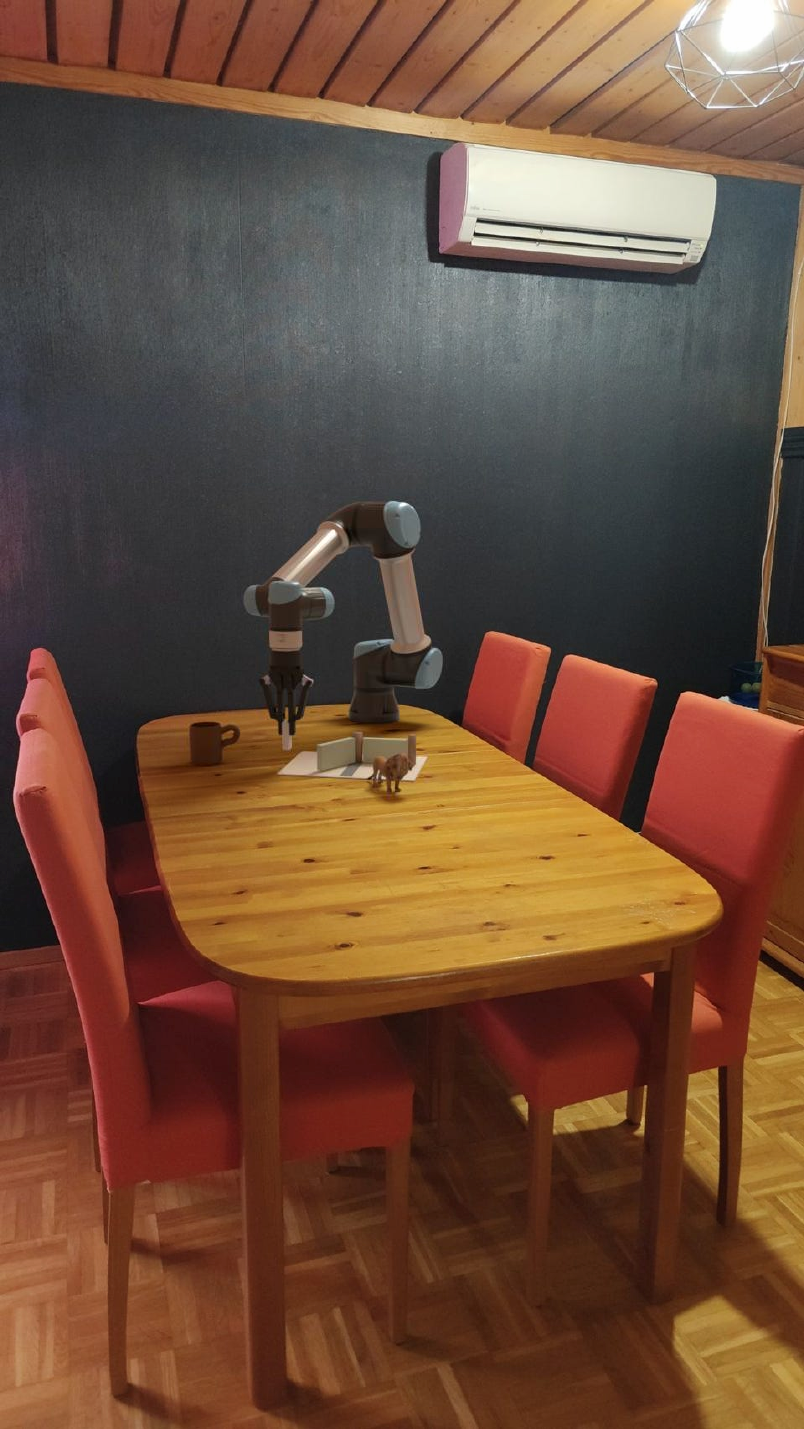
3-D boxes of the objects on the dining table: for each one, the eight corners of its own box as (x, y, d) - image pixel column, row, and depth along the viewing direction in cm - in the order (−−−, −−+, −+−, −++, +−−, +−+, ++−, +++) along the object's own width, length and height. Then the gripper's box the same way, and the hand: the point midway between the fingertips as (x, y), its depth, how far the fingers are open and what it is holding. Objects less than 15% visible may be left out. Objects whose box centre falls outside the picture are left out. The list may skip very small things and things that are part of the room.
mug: (240, 757, 238) (239, 719, 236) (241, 764, 231) (240, 726, 229) (190, 759, 236) (189, 721, 234) (190, 767, 228) (189, 728, 226)
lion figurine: (417, 793, 207) (417, 753, 205) (398, 798, 204) (398, 757, 202) (376, 779, 218) (376, 740, 217) (357, 783, 215) (357, 744, 213)
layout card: (302, 752, 243) (302, 751, 243) (427, 757, 238) (427, 756, 238) (276, 775, 222) (276, 773, 222) (414, 781, 217) (414, 780, 216)
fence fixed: (353, 760, 234) (353, 731, 232) (416, 763, 231) (417, 734, 230) (351, 762, 232) (351, 733, 230) (415, 765, 229) (415, 736, 228)
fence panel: (317, 769, 224) (316, 744, 223) (350, 761, 232) (350, 736, 231) (321, 771, 223) (321, 745, 222) (355, 762, 231) (355, 738, 230)
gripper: (253, 649, 219) (255, 750, 223) (309, 651, 217) (310, 753, 221) (263, 646, 226) (265, 743, 231) (317, 647, 224) (318, 746, 229)
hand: (287, 748), depth 226 cm, fingers closed
